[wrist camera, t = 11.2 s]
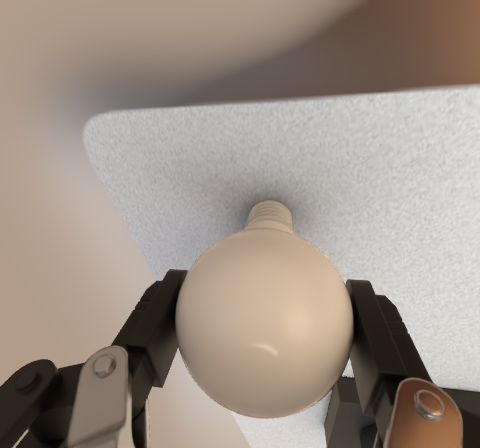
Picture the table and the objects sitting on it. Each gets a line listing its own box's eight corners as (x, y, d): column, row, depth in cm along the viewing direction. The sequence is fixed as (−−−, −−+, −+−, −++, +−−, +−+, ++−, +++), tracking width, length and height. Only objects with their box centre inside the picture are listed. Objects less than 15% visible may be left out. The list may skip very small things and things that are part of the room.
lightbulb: (227, 254, 18) (169, 441, 9) (215, 168, 15) (108, 319, 6) (318, 255, 17) (361, 470, 8) (326, 164, 14) (411, 339, 5)
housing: (324, 426, 29) (329, 473, 25) (335, 376, 24) (344, 426, 20) (442, 443, 27) (465, 496, 24) (481, 392, 22) (517, 451, 19)
